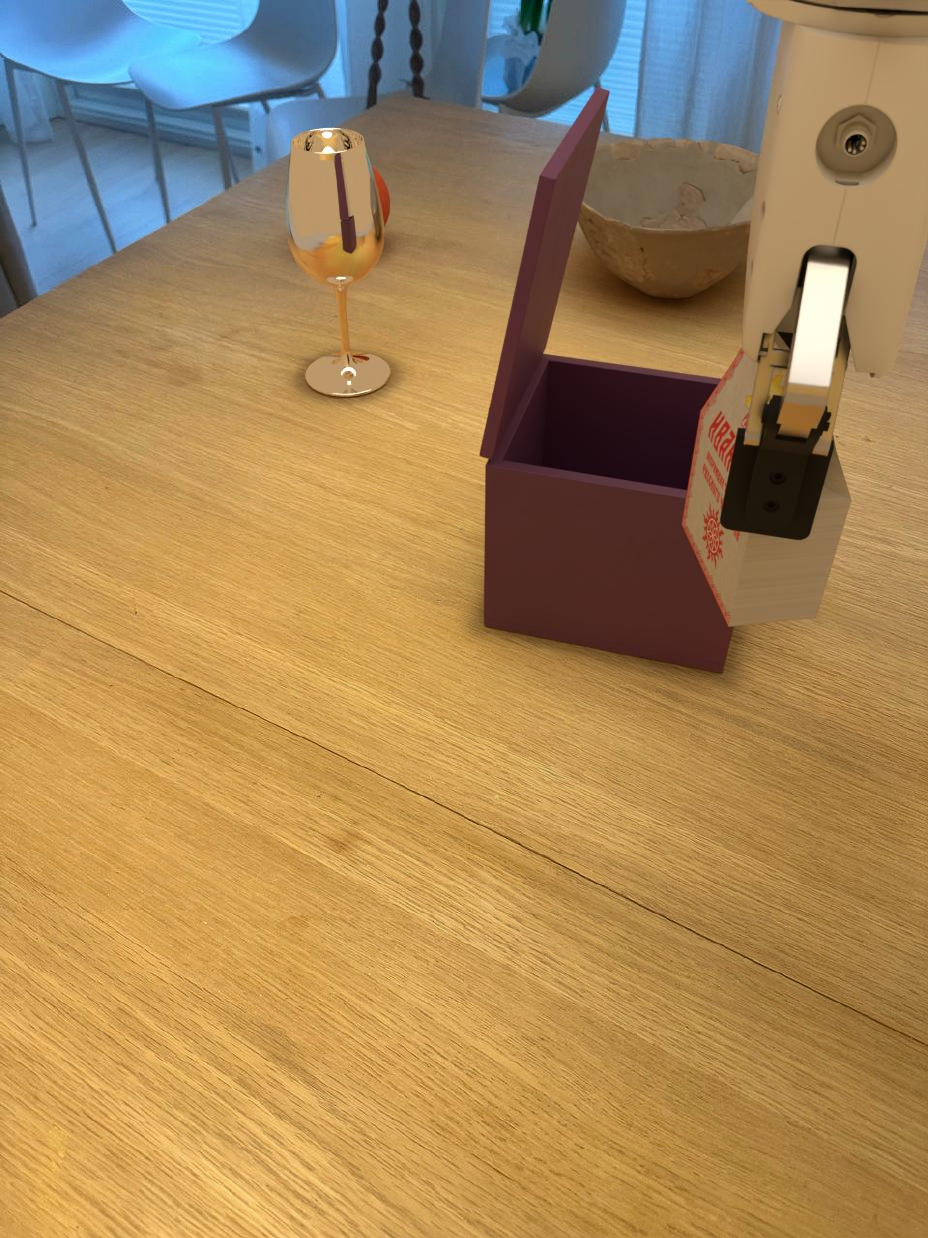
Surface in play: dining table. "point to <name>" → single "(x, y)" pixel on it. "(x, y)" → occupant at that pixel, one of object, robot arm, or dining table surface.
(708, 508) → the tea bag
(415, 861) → the dining table surface
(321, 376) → the wineglass
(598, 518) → the purple box
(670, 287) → the ceramic bowl
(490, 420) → the purple box lid
